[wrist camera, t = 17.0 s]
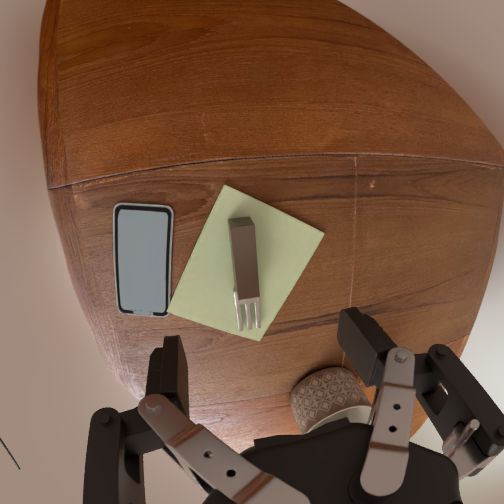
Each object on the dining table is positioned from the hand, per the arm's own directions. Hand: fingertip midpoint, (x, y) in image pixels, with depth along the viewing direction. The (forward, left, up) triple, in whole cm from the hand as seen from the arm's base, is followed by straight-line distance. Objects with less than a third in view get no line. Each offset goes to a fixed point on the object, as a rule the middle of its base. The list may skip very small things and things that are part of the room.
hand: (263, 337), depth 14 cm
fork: (-6, -5, -22) cm, 23 cm away
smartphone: (-10, +7, -23) cm, 25 cm away
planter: (-22, -29, -22) cm, 43 cm away
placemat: (-6, -5, -22) cm, 23 cm away
